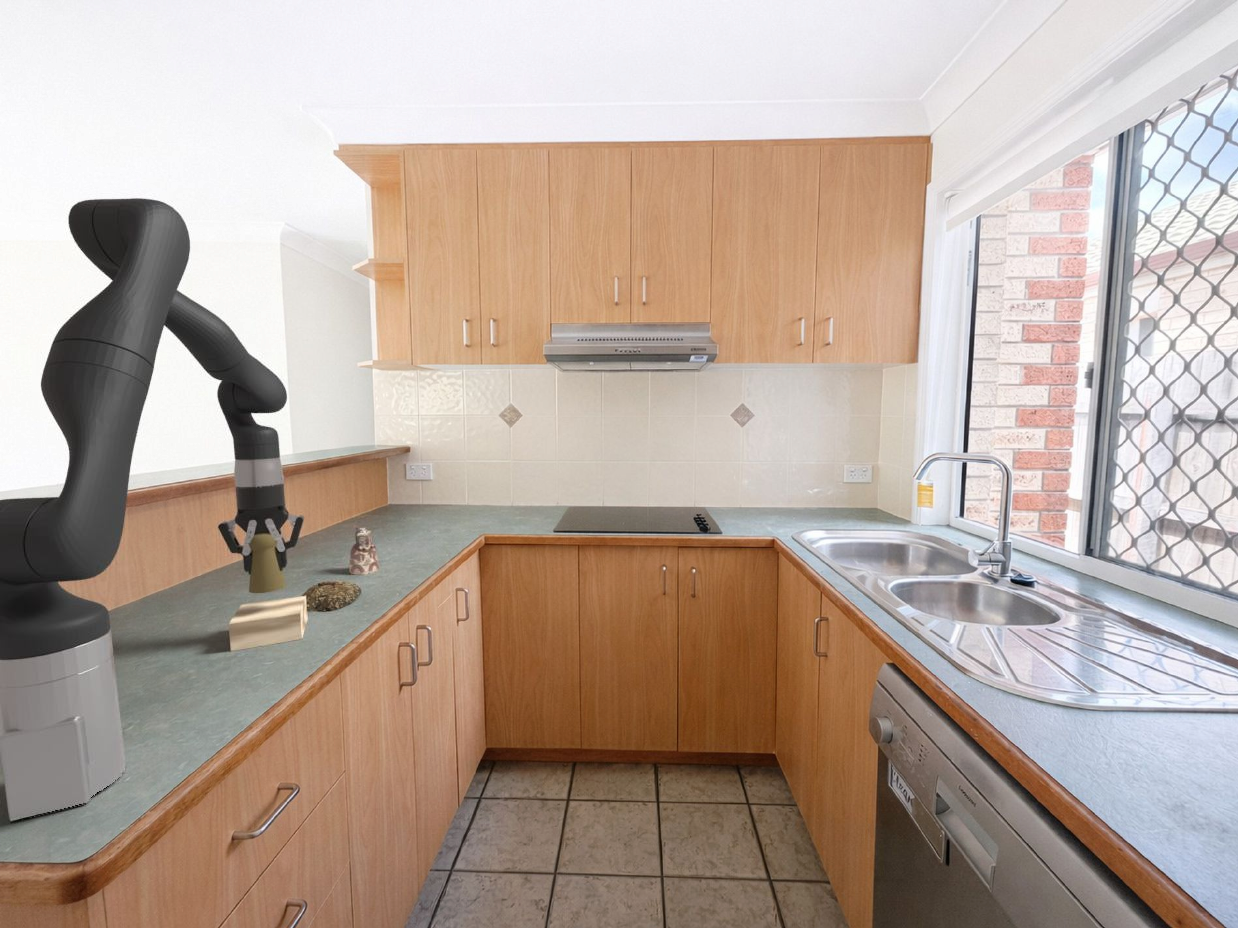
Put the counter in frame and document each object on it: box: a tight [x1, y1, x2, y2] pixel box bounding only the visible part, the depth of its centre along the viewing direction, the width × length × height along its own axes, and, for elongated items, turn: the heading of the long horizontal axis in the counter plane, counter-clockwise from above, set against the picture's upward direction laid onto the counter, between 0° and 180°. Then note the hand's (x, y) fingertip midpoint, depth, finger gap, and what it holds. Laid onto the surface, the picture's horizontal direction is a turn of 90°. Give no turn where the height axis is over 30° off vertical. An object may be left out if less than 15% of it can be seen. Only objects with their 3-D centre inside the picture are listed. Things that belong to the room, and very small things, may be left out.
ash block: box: [228, 595, 309, 652], centre depth 102 cm, size 11×11×5 cm
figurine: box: [348, 525, 380, 576], centre depth 143 cm, size 7×7×12 cm
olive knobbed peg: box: [248, 533, 287, 594], centre depth 101 cm, size 6×6×11 cm
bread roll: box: [300, 580, 362, 613], centre depth 119 cm, size 13×12×5 cm
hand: (266, 571), depth 101 cm, fingers closed on olive knobbed peg, 4 cm apart
